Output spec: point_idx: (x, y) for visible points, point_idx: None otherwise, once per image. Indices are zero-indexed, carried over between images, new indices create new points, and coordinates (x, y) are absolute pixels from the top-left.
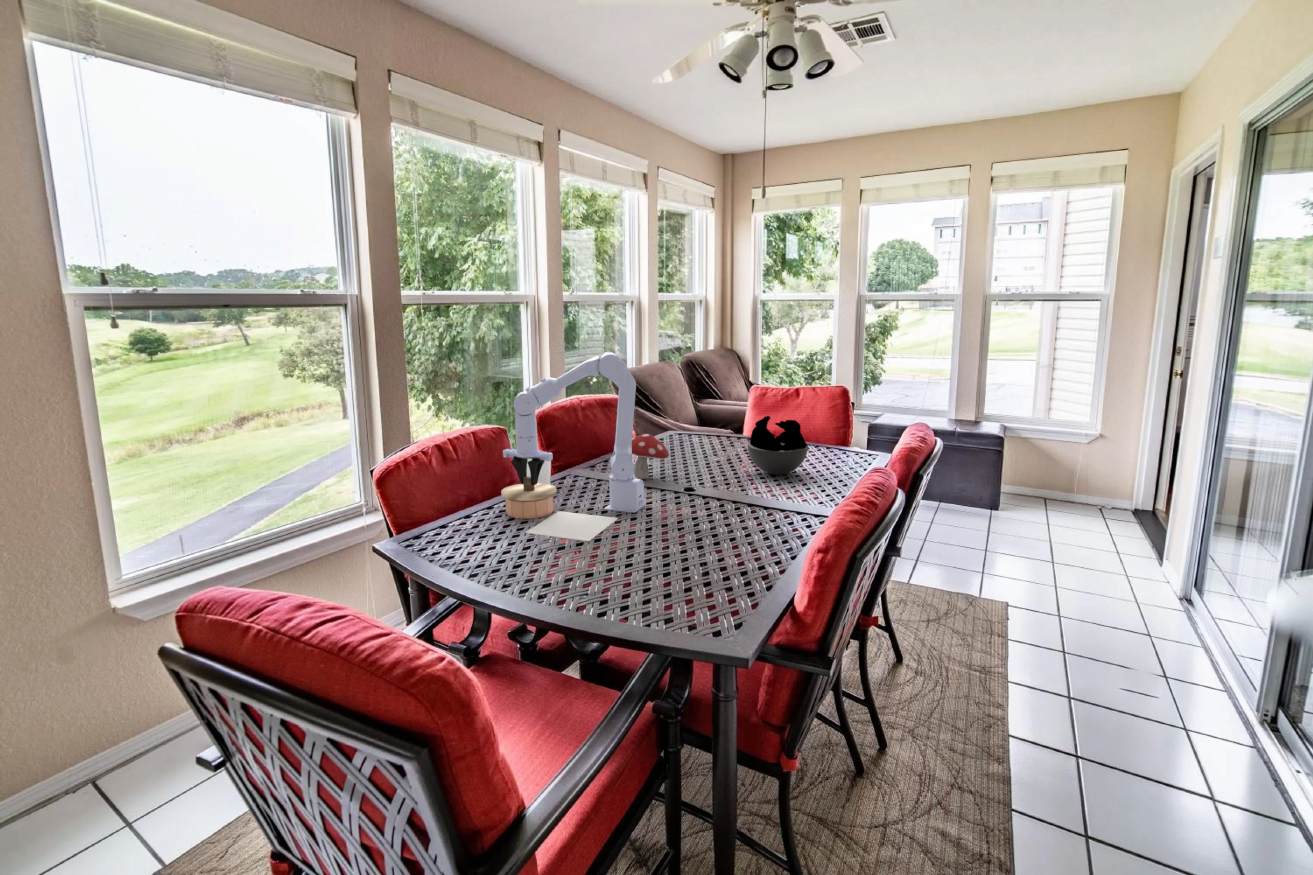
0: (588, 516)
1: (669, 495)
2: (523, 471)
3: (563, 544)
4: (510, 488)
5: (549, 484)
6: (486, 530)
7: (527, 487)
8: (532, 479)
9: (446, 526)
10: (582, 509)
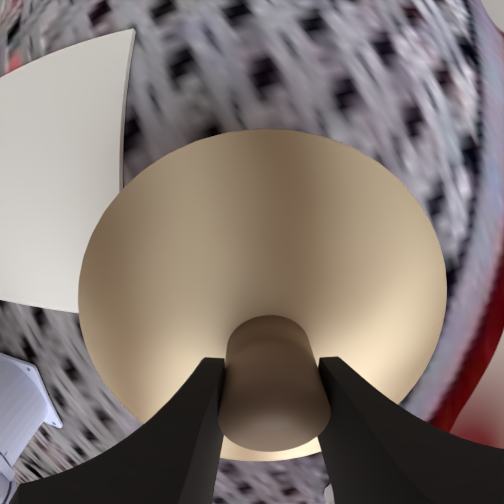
0: (18, 286)
1: (29, 452)
2: (346, 463)
3: (11, 49)
4: (408, 330)
5: (324, 494)
6: (317, 18)
7: (259, 333)
8: (194, 385)
9: (464, 53)
10: (88, 366)
